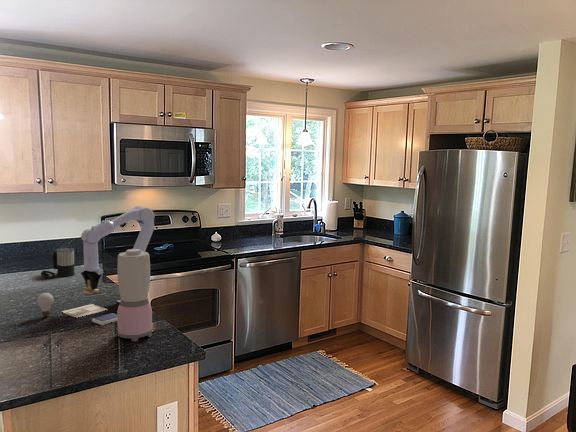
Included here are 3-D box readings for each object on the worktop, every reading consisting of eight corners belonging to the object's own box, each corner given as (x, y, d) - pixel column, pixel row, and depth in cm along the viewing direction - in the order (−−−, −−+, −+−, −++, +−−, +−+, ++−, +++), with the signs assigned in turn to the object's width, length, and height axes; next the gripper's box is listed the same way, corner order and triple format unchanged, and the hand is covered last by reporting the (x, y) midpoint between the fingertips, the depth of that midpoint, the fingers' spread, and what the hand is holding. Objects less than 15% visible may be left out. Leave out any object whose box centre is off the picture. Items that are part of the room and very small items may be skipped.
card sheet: (92, 304, 209) (92, 303, 209) (107, 309, 202) (107, 309, 202) (61, 312, 198) (61, 311, 198) (76, 318, 191) (76, 317, 191)
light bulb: (38, 315, 193) (38, 291, 192) (54, 313, 195) (54, 290, 194) (36, 319, 188) (35, 295, 187) (53, 318, 190) (52, 294, 189)
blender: (159, 335, 174) (158, 250, 170) (129, 344, 164) (128, 254, 161) (135, 325, 184) (133, 245, 180) (106, 333, 174) (104, 249, 171)
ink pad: (112, 315, 194) (111, 312, 194) (122, 319, 190) (122, 315, 190) (92, 321, 187) (91, 317, 187) (102, 325, 183) (101, 321, 183)
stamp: (91, 291, 205) (91, 278, 204) (99, 292, 203) (99, 279, 202) (83, 294, 201) (83, 280, 200) (91, 295, 199) (90, 281, 198)
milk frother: (78, 273, 266) (77, 248, 264) (61, 280, 250) (60, 253, 249) (55, 272, 268) (54, 246, 266) (37, 279, 252) (36, 252, 251)
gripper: (72, 256, 201) (73, 287, 203) (91, 260, 193) (92, 293, 194) (88, 254, 207) (89, 284, 209) (107, 258, 199) (108, 289, 200)
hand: (91, 288), depth 202 cm, fingers closed on stamp, 3 cm apart
